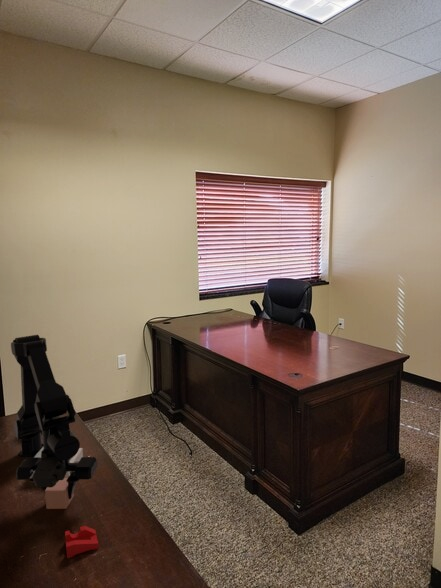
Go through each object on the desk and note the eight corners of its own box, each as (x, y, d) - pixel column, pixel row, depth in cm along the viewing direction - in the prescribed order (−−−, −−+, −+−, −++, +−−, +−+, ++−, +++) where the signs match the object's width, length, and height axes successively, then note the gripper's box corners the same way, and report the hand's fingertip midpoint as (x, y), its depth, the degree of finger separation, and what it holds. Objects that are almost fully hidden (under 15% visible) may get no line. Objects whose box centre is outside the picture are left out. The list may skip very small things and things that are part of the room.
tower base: (47, 457, 121) (46, 439, 120) (83, 456, 121) (81, 438, 120) (30, 479, 110) (28, 459, 109) (69, 479, 110) (67, 459, 109)
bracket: (67, 559, 83) (66, 547, 82) (65, 543, 87) (64, 531, 87) (98, 549, 85) (97, 537, 85) (95, 534, 90) (95, 522, 89)
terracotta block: (55, 495, 103) (53, 478, 102) (73, 495, 103) (72, 478, 102) (46, 508, 98) (44, 490, 97) (66, 508, 98) (64, 490, 97)
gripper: (0, 460, 90) (6, 521, 92) (81, 460, 90) (85, 520, 92) (24, 435, 101) (30, 490, 103) (96, 435, 101) (100, 490, 103)
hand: (60, 498), depth 100 cm, fingers closed on terracotta block, 5 cm apart
